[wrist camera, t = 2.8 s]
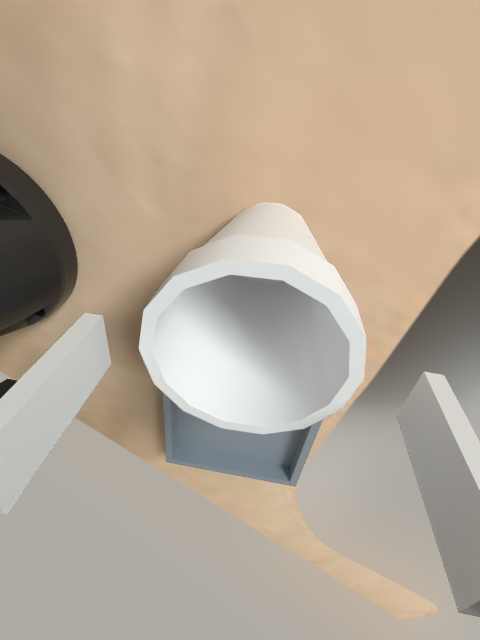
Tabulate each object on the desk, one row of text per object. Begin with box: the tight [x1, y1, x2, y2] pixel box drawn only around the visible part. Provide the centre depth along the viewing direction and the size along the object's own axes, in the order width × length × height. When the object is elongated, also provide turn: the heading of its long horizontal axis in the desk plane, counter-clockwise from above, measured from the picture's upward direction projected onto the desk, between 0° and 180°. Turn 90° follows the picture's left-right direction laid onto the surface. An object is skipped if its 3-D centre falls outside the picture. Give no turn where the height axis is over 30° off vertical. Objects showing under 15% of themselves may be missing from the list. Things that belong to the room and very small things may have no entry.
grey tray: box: [162, 392, 323, 486], centre depth 35 cm, size 16×16×3 cm
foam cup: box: [139, 202, 367, 434], centre depth 19 cm, size 10×9×13 cm
